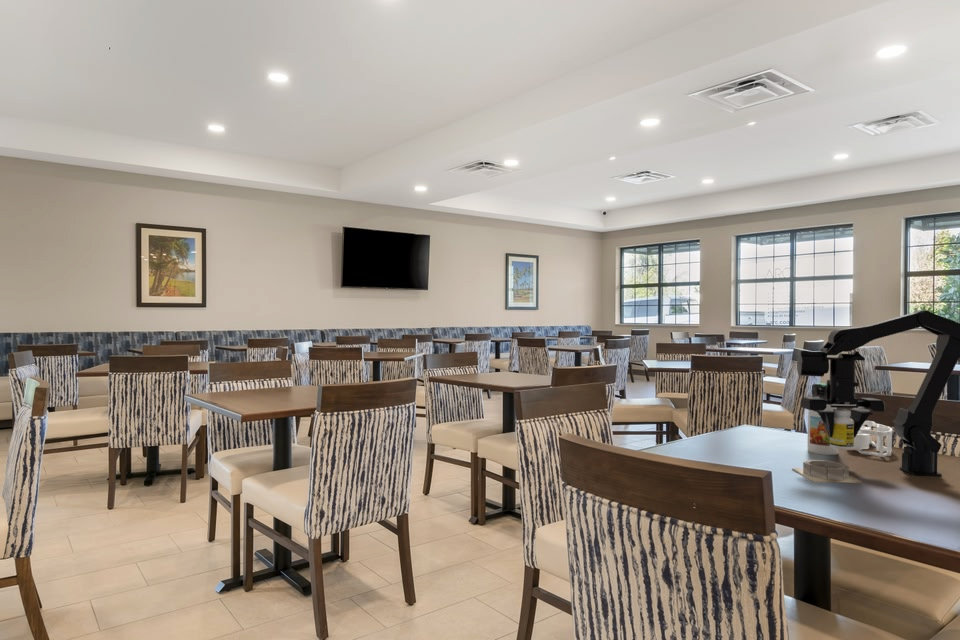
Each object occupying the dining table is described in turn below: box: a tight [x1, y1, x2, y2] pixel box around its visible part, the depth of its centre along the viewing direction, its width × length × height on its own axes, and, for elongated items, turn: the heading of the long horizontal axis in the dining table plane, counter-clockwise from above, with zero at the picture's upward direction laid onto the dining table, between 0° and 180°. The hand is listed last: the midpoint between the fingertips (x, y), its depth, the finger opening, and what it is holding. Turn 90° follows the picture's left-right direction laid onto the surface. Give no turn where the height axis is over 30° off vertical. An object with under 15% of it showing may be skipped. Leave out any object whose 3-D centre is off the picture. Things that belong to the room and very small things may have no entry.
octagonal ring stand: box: [791, 459, 863, 484], centre depth 147 cm, size 11×11×3 cm
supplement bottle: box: [830, 408, 854, 450], centre depth 157 cm, size 5×5×10 cm
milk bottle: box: [807, 382, 839, 456], centre depth 175 cm, size 8×8×20 cm
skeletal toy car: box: [852, 420, 893, 458], centre depth 179 cm, size 20×11×7 cm, turn 145°
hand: (841, 437), depth 157 cm, fingers closed on supplement bottle, 5 cm apart
